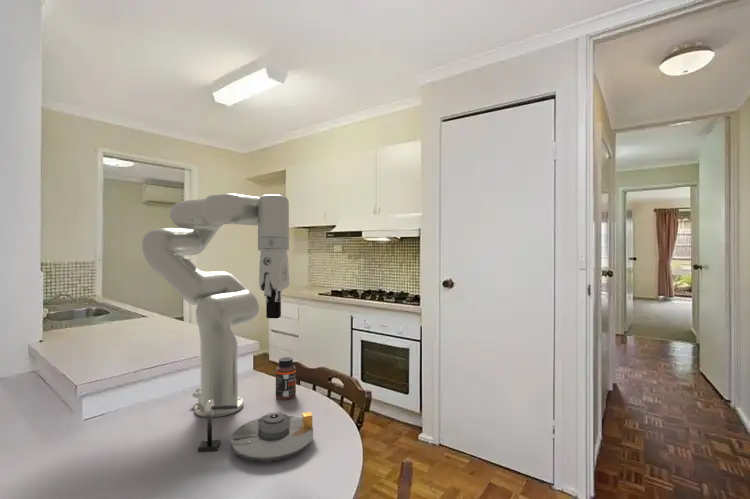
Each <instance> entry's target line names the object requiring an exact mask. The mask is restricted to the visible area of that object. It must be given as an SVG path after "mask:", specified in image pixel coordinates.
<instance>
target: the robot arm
mask: <svg viewBox="0 0 750 499" xmlns="http://www.w3.org/2000/svg"><path fill="white" fill-rule="evenodd" d="M289 208H290V203H289V198H288V197H286V196H285V195H282V194H264V195H260V196H251V195H245V194H239V193H220V194H212V195H208V196H207V197H206V198H197V199H189V200H188V199H187V200H182V201H178V202H177V203H175V204H174V205H173V206H172V207H171V209H170V213H169V218H170V219H171V221H172V223H173V224H174V225H175V226H177V227H178V228H177V227H176V228H175V227H160V228H155V229H151V230H150V231H148V232H146V233H145V234H144V236H143V238H142V240H141V241H142V242H141V245H142V246H141V248H142V253H143V256H144V259H145V260H146V263H147V264H148V265H149V267H151V269H152V270H153V271H154V272H155V273H156V274H158V275H159V276H160V277H161V278H163V279H164V280H165V281H166V282H167V283H168V284H169V285H170V286H171V287H172V288H173V289H174V290H175V292H176V293H177V294H179V295H180V297H181V298H182V299H183V300H184V301H185V302H187V303H188V304H190V305H192V306H196V309H195V316H196V322H197V326H198V331H199V342H200V343H199V344H200V348H199V350H200V351H199V352H200V353H199V354H200V387H197V388H196V390H195V392H193V393H192V396H191V397H192V398H195V399H197V403H196V404H195V405H194V413H195V414H196V415H197V416H199V417H203V418H206V417H205V416H204V406H205V402H206V400H208V399H213V400H214V404H215V406H224V405H238V408H237V409H219V410H214V413H213V415H212V418H217V417H218V418H221V417H225V416H228V415H231V414H234V413H236V412H238V411H240V410H241V409H242V408H243V406H244V399H243V397H240V396H238V395H239V394H238V391H239V390H238V388H239V387H238V381H239V380H238V379H239V378H238V341H237V338H236V336H235V334H234V332H233V331H232V329H231V328H232V327H235V326H238V325H242V324H246V323H249V322H252V321H253V320H254V319H256V317H257V316H258V315H259V310H260V305H259V302H258V299H257V297H256V296H255V295H254V294H253V293H254V292H253V293H252V290H250V289H249V288H248V287H246V286H245V285H244V284H243V283H242V282H241V281H240V280H239V279H238V278H237V277H236V276H234V275H233V274H232V273H230V272H227V271H224V270H218V271H217V270H216V271H215V270H214V271H203V270H201V269H199V268H198V267H197V266H196V265H195V264H194V263H193V262H192V261H190V260H189V259H187V258H185V257H183V256H194V255H195V256H197V255H199V254H201V253H202V252H203V251H204V250H205V249H206V248H207V246H209V243H210V242H211V240H212V239H213V237H215V235H216V234H217V232H218V230H219V229H220V228H221V227H222V226H224V225H239V226H240V225H243V226H257V251H260V255H259V268H258V270H259V271H258V272H259V273H258V274H259V275H258V278H259V279H258V281H259V289H260V290H261V291H262V292H263V295H264V297H265V302H266V309H265V310H266V312H265V313H266V318H267V319H279V318H281V317H282V292H283V290H286V289H287V288H288V287H289V286H290V272H289V256H288V251H289V250H290V223H289V222H290V209H289Z"/></svg>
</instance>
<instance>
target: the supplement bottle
mask: <svg viewBox="0 0 750 499" xmlns="http://www.w3.org/2000/svg"><path fill="white" fill-rule="evenodd" d="M293 360H294V359H293V358H292V357H288V356H287V357H286V356H285V357H281V358H279V359H278V366H276V368H275V398H276V399H278V400H281V401H282V400H284V401H289V400H291V399H293V398H295V397H296V395H297V394H296V392H297V387H296V386H297V368H296V365H295V364H294V361H293Z"/></svg>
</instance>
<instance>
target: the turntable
mask: <svg viewBox="0 0 750 499" xmlns="http://www.w3.org/2000/svg"><path fill="white" fill-rule="evenodd" d="M288 416H289V417H290V433H289V434H288V435H287V436H286V437H284V438H282V439H279V440H273V441H268V440H263V439H260V438H259V437H258V420H259V419H260V418H261V417H259V418H256V419H253V420H250V421H248V422H246V423H244V424H242V425H241V426H239V427H238V428H237V429H235V430H234V432H233V433H232V435H231V438H230V448H231V451H232V453H233V454H234V455H236V456H237V457H239V458H241V459H244V460H247V461H253V462H273V461H278V460H283V459H287V458H291V457H293V456H295V455H297V454H299V453H301V452H303V451H304V450H306V449H307V448H308V447H310V445H311V443H312V442H313V440H314V427H313V414H312V412H311V411H308V412H302V413H301V417H299V416H295V415H288Z"/></svg>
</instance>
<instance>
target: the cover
mask: <svg viewBox="0 0 750 499" xmlns="http://www.w3.org/2000/svg"><path fill="white" fill-rule="evenodd" d="M289 416H290V415H289V414H285V413H283V412H280V411H279V412H278V411H274V412H273V411H272V412H269V413H266V414H265V415H263V416H261V417H259V418H260V419H259V418H258V419H259V420H258V437H259V438H260V439H263V440H268V441H273V440H279V439H282V438H284V437H286V436H287V435H288V434H289V433H290V417H289Z"/></svg>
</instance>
